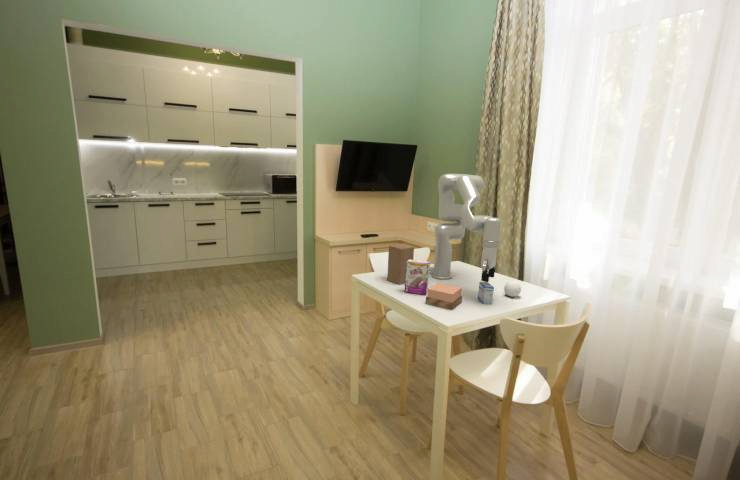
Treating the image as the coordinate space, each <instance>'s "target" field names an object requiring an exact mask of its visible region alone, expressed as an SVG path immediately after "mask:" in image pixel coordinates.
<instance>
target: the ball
mask: <svg viewBox="0 0 740 480" xmlns="http://www.w3.org/2000/svg"><path fill="white" fill-rule="evenodd" d="M503 287H504V288H503V291H504V294H506V295H507V296H508V297H511V298H512V297H513V298H515V297H517V296H519V295H520V293H521V291H522V287H521V285H520V284H519V282H517V281H515V280H510V281H507V282H506V283H505V284H504V286H503Z"/></svg>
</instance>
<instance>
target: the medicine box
mask: <svg viewBox="0 0 740 480" xmlns="http://www.w3.org/2000/svg"><path fill="white" fill-rule="evenodd" d="M494 290H495V287H494V286H493V285H491V283H489V281H488V282H484V281H479V283H478V292H477V299H478V300H479V301H480V302H481V303H482V304H483V305H492V304H493V302H494V301H493V299H494Z"/></svg>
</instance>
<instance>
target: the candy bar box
mask: <svg viewBox="0 0 740 480" xmlns="http://www.w3.org/2000/svg"><path fill="white" fill-rule="evenodd" d="M430 264H431V262H430V261H424V260H418V259H417V260H415V259H413V260H410V259H409V260H408V261H407V262H406V277H405V283H404V293H408V294H409V293H410V294H416V295H421V296H427V295H428V289H429V279H430V276H429V275H430V271H429V267H431V265H430Z"/></svg>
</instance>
